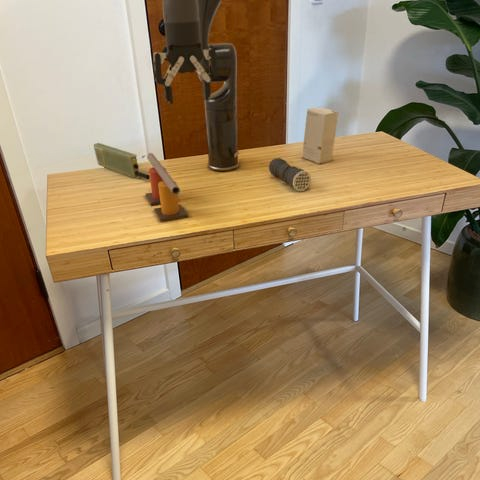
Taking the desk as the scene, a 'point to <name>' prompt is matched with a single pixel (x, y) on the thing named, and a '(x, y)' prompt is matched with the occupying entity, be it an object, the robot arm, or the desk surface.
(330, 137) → the pale wooden block
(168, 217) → the ochre post
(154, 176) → the red peg stand
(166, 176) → the metal rod
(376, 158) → the desk surface
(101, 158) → the handheld radio
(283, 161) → the flashlight
